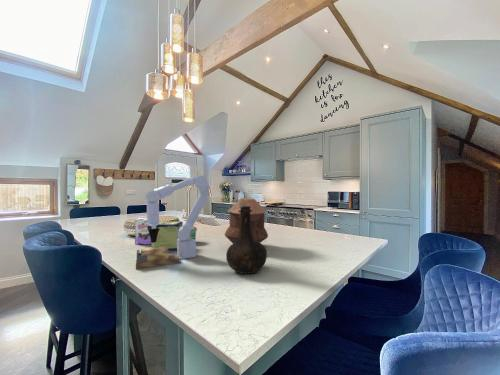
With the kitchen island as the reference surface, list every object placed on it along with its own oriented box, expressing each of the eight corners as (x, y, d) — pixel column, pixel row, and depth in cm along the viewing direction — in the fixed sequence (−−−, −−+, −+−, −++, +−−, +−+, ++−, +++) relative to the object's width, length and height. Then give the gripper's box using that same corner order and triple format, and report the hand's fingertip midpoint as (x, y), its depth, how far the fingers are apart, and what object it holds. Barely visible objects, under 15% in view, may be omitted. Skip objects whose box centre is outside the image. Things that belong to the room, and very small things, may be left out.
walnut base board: (177, 259, 120) (177, 254, 120) (179, 263, 113) (179, 257, 113) (135, 264, 111) (135, 259, 111) (135, 269, 105) (135, 263, 105)
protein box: (178, 250, 135) (177, 224, 135) (151, 251, 136) (150, 224, 136) (183, 246, 146) (183, 221, 146) (158, 246, 146) (158, 221, 146)
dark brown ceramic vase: (259, 280, 91) (259, 208, 91) (218, 274, 97) (218, 207, 97) (271, 265, 108) (271, 205, 108) (236, 261, 114) (235, 204, 114)
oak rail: (167, 256, 116) (167, 246, 116) (168, 258, 113) (168, 247, 113) (140, 259, 111) (140, 249, 111) (140, 261, 108) (140, 251, 108)
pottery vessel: (230, 242, 153) (229, 197, 153) (269, 243, 150) (268, 196, 150) (219, 254, 128) (219, 199, 128) (266, 255, 124) (266, 199, 124)
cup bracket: (146, 258, 113) (146, 249, 113) (146, 261, 107) (146, 252, 107) (136, 259, 111) (136, 250, 111) (136, 263, 106) (136, 253, 106)
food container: (192, 245, 148) (192, 229, 148) (183, 244, 149) (183, 229, 149) (200, 240, 160) (200, 226, 160) (191, 240, 162) (191, 226, 162)
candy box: (134, 244, 152) (134, 219, 152) (140, 242, 158) (139, 217, 158) (153, 244, 150) (153, 219, 150) (159, 242, 156) (158, 218, 156)
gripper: (144, 213, 125) (144, 238, 125) (144, 216, 111) (145, 244, 111) (158, 212, 128) (158, 237, 128) (160, 215, 114) (160, 243, 115)
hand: (153, 240), depth 120 cm, fingers open, 7 cm apart
